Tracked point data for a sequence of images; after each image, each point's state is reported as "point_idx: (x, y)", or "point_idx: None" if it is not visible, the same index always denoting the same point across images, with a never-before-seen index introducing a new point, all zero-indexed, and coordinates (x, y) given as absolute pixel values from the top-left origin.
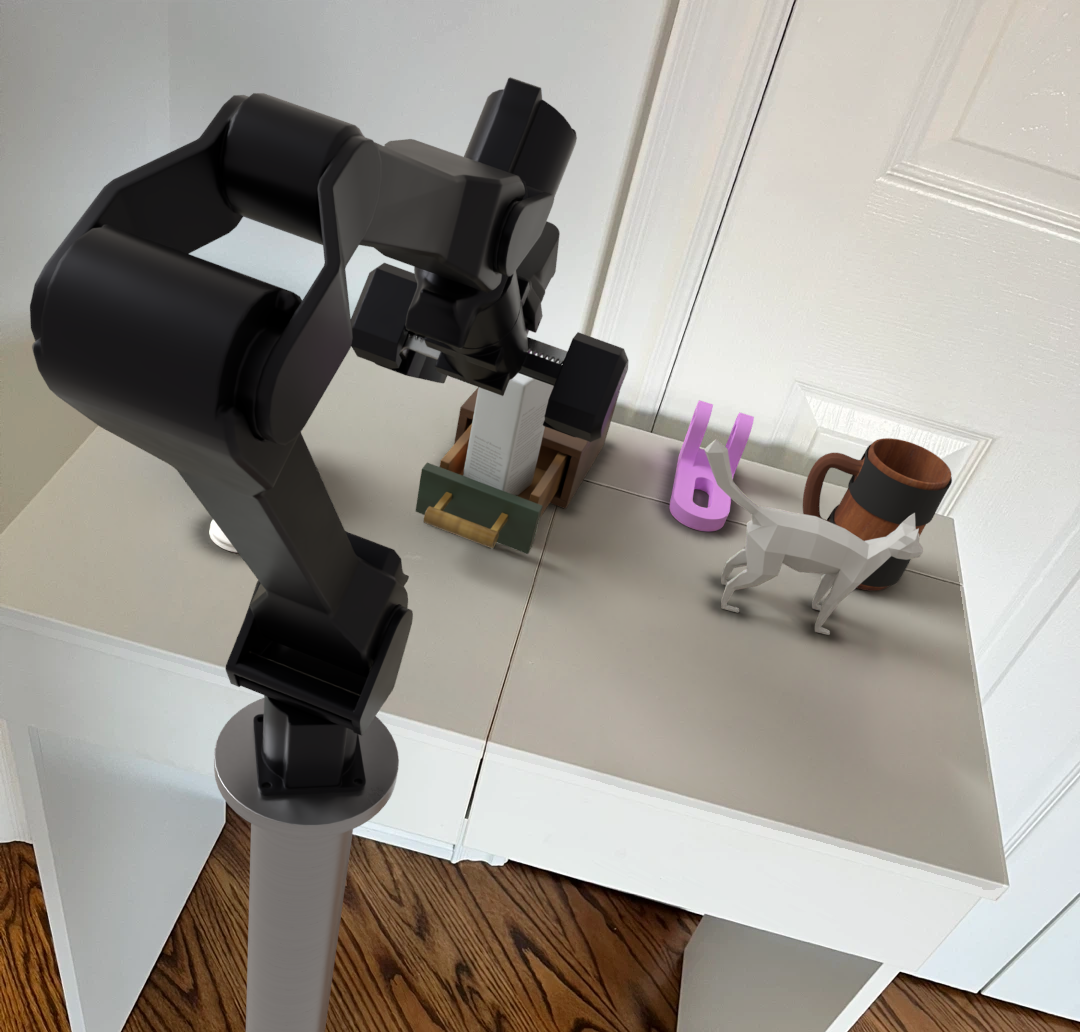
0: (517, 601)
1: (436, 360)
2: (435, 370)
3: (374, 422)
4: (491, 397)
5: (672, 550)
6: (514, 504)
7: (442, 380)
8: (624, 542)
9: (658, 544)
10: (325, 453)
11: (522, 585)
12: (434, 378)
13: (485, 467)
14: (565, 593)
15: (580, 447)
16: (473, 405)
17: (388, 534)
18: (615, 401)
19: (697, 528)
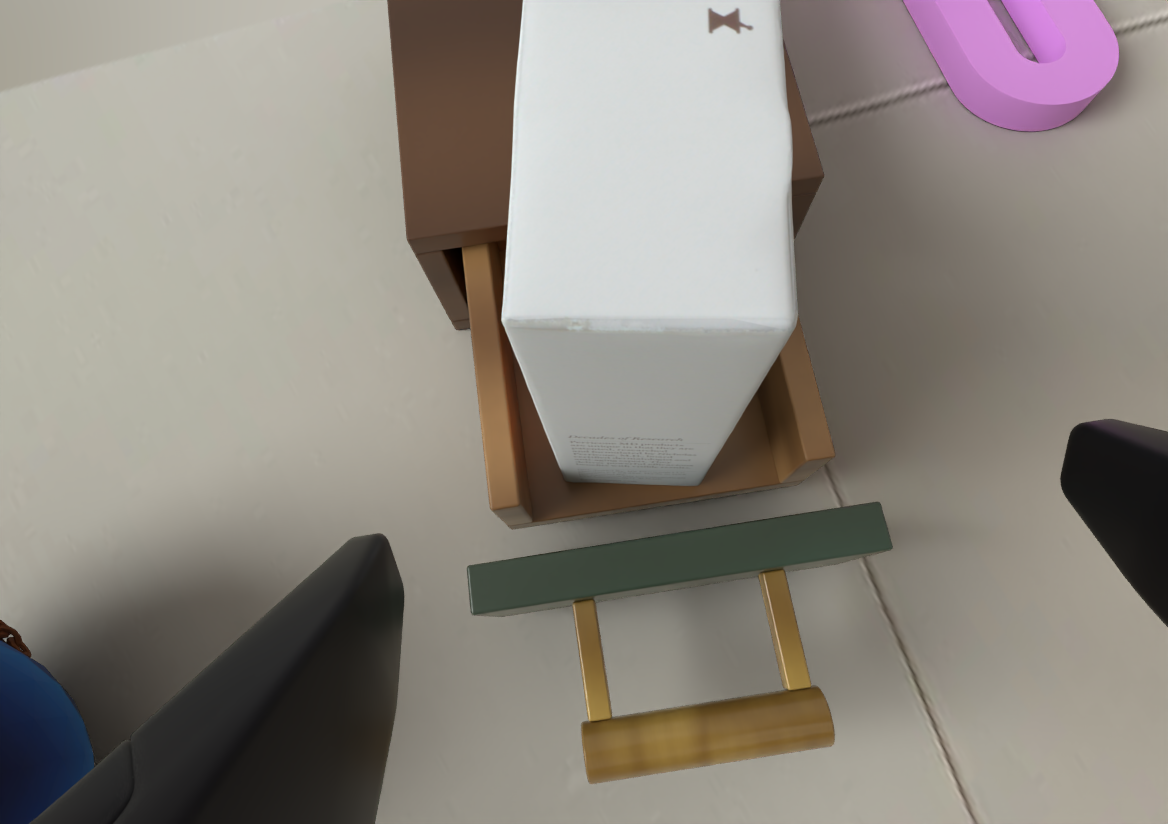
0: (910, 742)
1: (308, 817)
2: (347, 799)
3: (212, 305)
4: (602, 380)
5: (1063, 241)
6: (807, 562)
7: (397, 636)
8: (959, 297)
9: (1024, 244)
10: (172, 517)
11: (878, 663)
12: (373, 798)
13: (633, 461)
14: (981, 609)
15: (809, 159)
16: (434, 203)
17: (482, 726)
18: None
19: (1058, 123)
